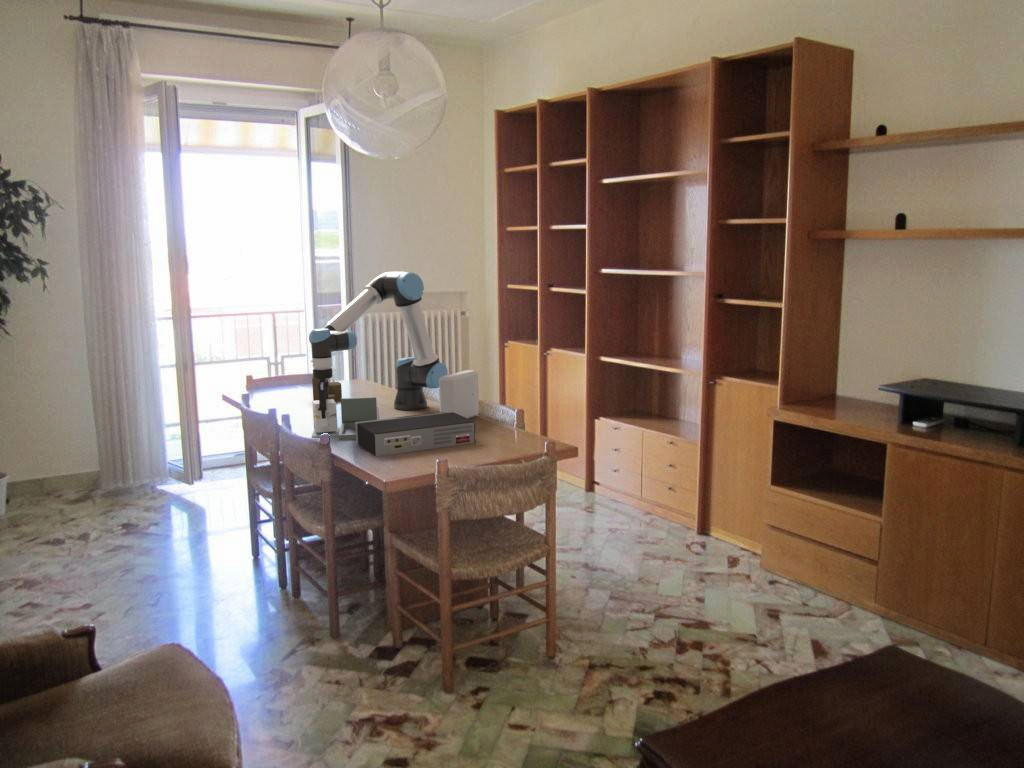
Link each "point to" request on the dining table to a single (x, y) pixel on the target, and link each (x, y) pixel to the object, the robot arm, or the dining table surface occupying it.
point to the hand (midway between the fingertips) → (325, 423)
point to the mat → (332, 433)
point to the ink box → (330, 415)
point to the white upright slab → (460, 393)
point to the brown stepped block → (334, 391)
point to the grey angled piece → (356, 414)
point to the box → (414, 433)
